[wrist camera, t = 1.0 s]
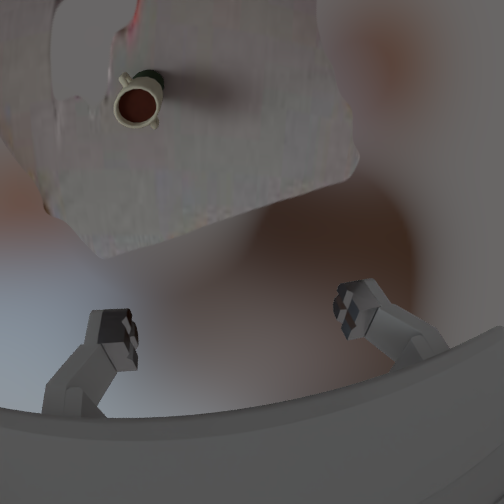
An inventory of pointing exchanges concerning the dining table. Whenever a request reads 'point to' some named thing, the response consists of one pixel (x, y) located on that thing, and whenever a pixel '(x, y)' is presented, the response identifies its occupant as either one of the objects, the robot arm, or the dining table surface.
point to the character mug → (139, 99)
